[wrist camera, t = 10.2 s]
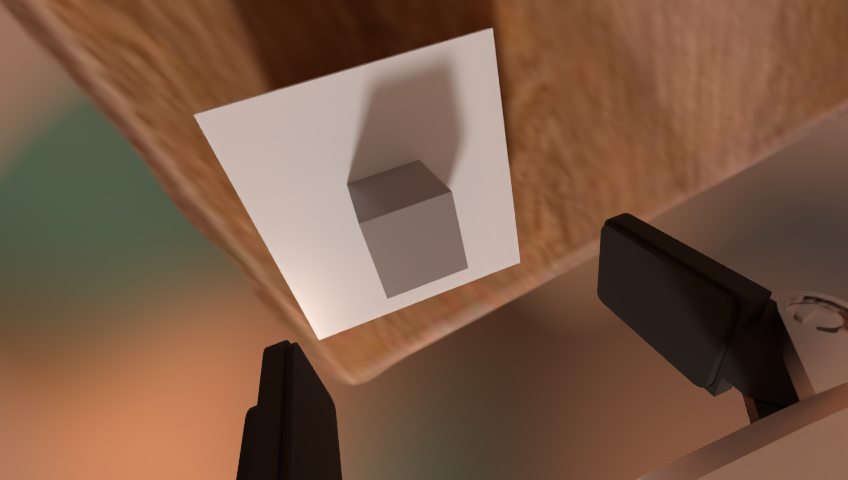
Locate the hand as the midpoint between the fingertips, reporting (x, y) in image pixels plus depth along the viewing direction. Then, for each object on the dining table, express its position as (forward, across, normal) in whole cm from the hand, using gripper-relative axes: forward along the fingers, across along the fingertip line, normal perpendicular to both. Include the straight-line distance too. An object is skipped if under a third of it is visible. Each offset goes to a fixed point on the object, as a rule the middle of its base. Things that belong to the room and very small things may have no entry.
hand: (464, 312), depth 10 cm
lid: (+11, 0, +1) cm, 11 cm away
